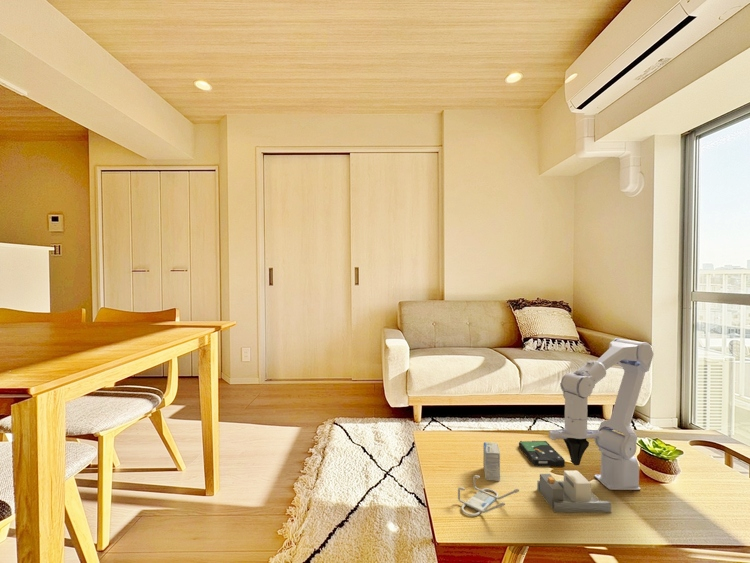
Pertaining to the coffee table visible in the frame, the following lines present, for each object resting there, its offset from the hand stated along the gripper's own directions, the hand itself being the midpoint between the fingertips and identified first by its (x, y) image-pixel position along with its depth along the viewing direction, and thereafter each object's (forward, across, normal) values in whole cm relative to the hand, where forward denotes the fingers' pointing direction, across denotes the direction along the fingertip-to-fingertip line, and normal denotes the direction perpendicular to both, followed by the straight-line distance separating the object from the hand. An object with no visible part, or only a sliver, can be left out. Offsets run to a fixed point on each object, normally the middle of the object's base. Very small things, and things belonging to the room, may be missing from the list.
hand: (575, 463), depth 111 cm
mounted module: (+9, +8, +2) cm, 12 cm away
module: (+9, 0, +2) cm, 9 cm away
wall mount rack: (+10, +26, +5) cm, 29 cm away
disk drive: (+10, -1, -25) cm, 27 cm away
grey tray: (+9, +2, +2) cm, 10 cm away
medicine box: (+10, +20, -12) cm, 25 cm away
